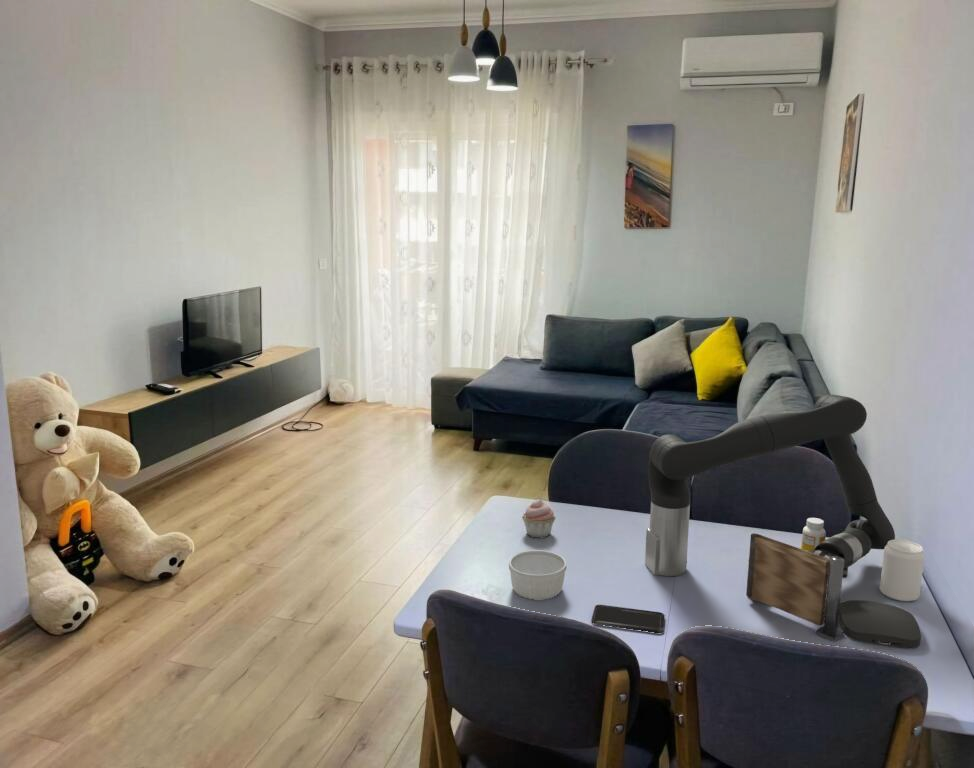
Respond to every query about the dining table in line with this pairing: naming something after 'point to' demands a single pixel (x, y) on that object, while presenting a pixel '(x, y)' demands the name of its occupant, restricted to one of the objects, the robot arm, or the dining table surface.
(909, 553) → the beverage can
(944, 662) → the dining table surface
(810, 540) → the supplement bottle
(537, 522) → the cupcake
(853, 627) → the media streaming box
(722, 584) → the dining table surface
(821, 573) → the wooden gate
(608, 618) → the phone
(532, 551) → the ramekin
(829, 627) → the gate post
